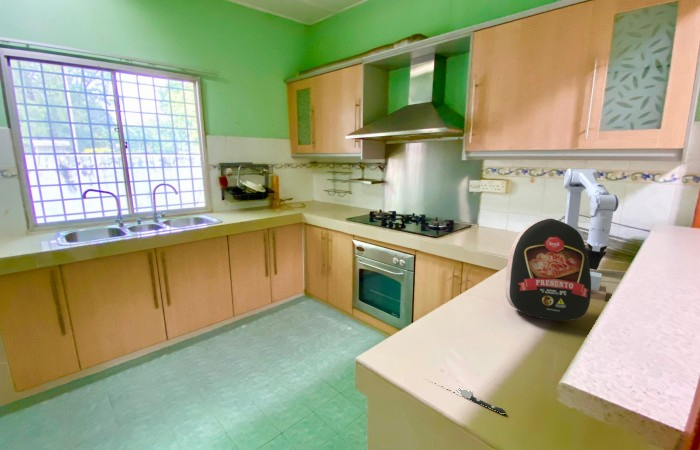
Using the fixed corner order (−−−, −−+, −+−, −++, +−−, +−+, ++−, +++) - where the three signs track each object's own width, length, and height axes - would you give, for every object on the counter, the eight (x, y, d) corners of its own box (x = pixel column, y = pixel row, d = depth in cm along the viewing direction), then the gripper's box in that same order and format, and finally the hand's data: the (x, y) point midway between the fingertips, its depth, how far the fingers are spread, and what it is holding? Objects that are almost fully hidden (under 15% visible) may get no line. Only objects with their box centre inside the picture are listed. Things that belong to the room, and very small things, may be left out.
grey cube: (581, 287, 114) (583, 274, 113) (582, 283, 118) (584, 270, 117) (598, 291, 111) (601, 277, 110) (599, 286, 115) (602, 273, 113)
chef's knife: (421, 370, 74) (415, 376, 72) (421, 366, 74) (415, 371, 72) (509, 409, 63) (505, 418, 60) (510, 404, 62) (506, 413, 60)
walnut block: (572, 295, 114) (574, 287, 114) (574, 287, 121) (576, 280, 120) (604, 302, 109) (605, 294, 108) (604, 293, 116) (606, 286, 115)
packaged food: (509, 323, 94) (520, 225, 88) (497, 296, 113) (506, 213, 106) (595, 334, 88) (613, 229, 82) (568, 303, 107) (581, 216, 101)
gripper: (614, 234, 102) (607, 274, 105) (614, 227, 113) (608, 263, 116) (587, 231, 106) (581, 269, 109) (589, 224, 117) (584, 259, 120)
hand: (593, 266), depth 113 cm, fingers open, 7 cm apart
